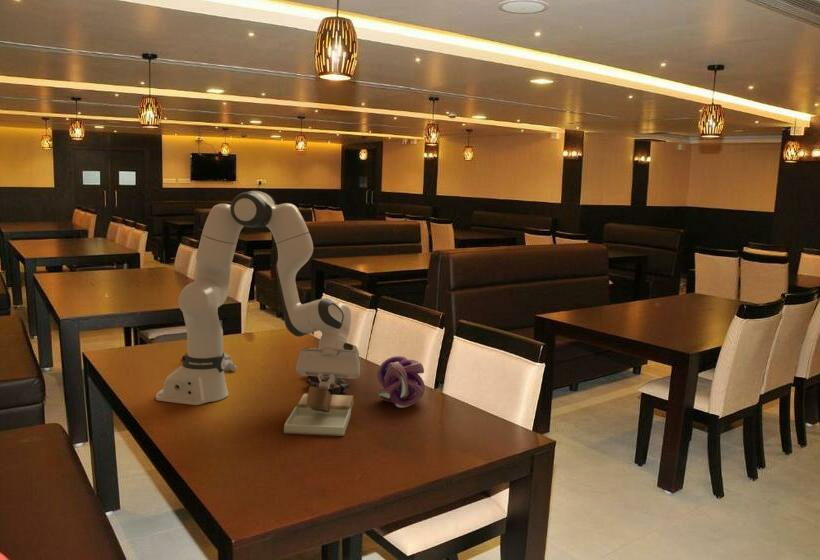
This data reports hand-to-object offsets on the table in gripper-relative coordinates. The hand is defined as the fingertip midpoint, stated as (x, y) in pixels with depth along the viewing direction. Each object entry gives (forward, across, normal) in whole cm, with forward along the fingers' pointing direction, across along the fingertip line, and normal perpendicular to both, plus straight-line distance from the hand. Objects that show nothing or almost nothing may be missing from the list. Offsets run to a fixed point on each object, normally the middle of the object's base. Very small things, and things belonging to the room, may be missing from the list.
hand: (323, 388), depth 193 cm
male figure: (-22, -53, +34) cm, 67 cm away
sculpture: (-5, +22, +16) cm, 28 cm away
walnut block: (+4, 0, +2) cm, 5 cm away
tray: (+12, +1, -1) cm, 13 cm away
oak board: (+3, 0, +8) cm, 8 cm away
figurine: (-11, -6, +23) cm, 26 cm away
